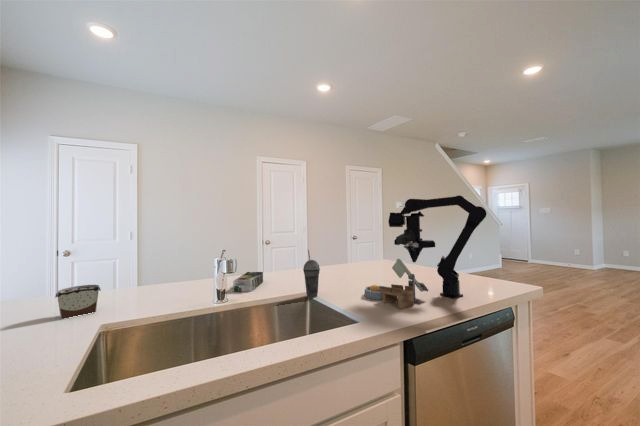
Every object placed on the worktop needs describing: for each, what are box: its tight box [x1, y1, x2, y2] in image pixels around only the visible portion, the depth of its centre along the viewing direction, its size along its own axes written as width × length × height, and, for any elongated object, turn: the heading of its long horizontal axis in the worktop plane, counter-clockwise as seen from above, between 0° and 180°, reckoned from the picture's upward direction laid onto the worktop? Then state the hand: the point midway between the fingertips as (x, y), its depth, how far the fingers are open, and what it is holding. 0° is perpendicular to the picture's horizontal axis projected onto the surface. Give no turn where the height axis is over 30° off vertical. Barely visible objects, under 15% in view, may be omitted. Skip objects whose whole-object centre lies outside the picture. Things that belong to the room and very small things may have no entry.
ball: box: [370, 284, 379, 292], centre depth 112 cm, size 4×4×4 cm
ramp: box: [380, 284, 415, 309], centre depth 102 cm, size 7×11×7 cm, turn 27°
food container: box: [54, 284, 101, 320], centre depth 98 cm, size 12×6×10 cm, turn 135°
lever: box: [391, 258, 429, 293], centre depth 103 cm, size 19×4×6 cm
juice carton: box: [232, 271, 264, 293], centre depth 133 cm, size 20×10×6 cm, turn 177°
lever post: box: [407, 279, 421, 304], centre depth 104 cm, size 4×4×8 cm
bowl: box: [364, 285, 386, 301], centre depth 112 cm, size 11×11×3 cm
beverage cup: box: [302, 249, 321, 299], centre depth 114 cm, size 7×7×20 cm
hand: (414, 262), depth 117 cm, fingers closed
